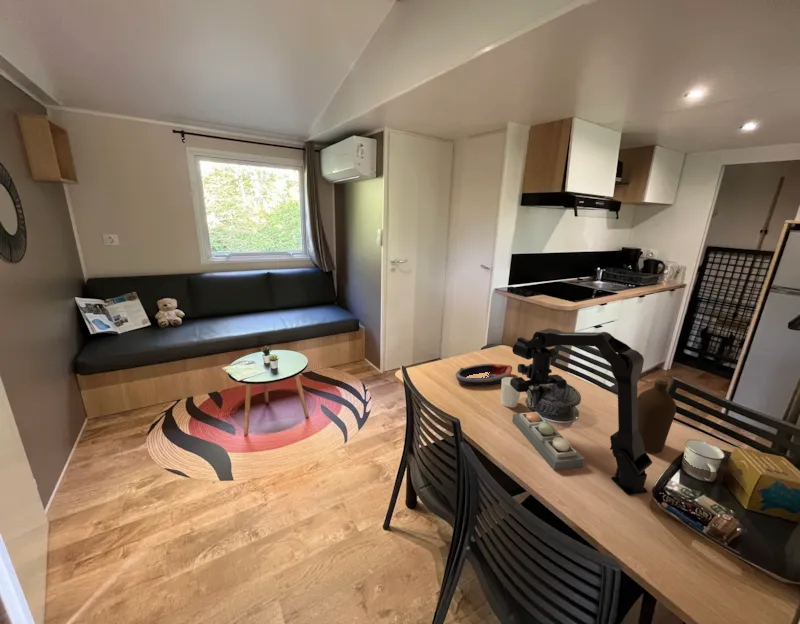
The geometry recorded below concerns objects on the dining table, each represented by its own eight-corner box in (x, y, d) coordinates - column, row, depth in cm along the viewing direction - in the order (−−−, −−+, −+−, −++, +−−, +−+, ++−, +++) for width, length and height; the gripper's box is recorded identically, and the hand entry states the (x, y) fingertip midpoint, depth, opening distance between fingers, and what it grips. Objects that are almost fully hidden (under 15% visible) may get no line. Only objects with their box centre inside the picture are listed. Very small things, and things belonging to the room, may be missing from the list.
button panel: (582, 466, 106) (585, 455, 105) (553, 470, 104) (555, 458, 103) (536, 418, 130) (537, 408, 129) (512, 421, 129) (513, 411, 127)
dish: (448, 376, 164) (448, 367, 162) (502, 368, 173) (503, 359, 172) (464, 392, 150) (465, 381, 148) (522, 382, 159) (523, 372, 158)
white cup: (499, 406, 138) (502, 384, 135) (498, 397, 145) (501, 376, 143) (519, 409, 136) (522, 387, 134) (518, 399, 144) (521, 378, 141)
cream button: (572, 450, 107) (572, 446, 106) (558, 452, 106) (559, 447, 105) (562, 440, 111) (563, 436, 111) (549, 442, 110) (549, 437, 110)
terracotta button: (542, 423, 122) (543, 419, 122) (530, 424, 121) (530, 420, 121) (534, 415, 127) (535, 411, 126) (523, 416, 126) (523, 413, 125)
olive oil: (647, 457, 111) (665, 388, 104) (619, 437, 120) (634, 373, 113) (672, 452, 113) (692, 384, 106) (643, 433, 123) (659, 370, 116)
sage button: (556, 434, 114) (557, 430, 114) (543, 436, 113) (544, 431, 113) (548, 426, 119) (548, 422, 118) (535, 427, 118) (536, 423, 117)
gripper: (551, 353, 127) (545, 391, 131) (504, 356, 123) (500, 394, 128) (571, 366, 116) (564, 406, 121) (520, 370, 113) (515, 411, 117)
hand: (535, 404), depth 122 cm, fingers closed
